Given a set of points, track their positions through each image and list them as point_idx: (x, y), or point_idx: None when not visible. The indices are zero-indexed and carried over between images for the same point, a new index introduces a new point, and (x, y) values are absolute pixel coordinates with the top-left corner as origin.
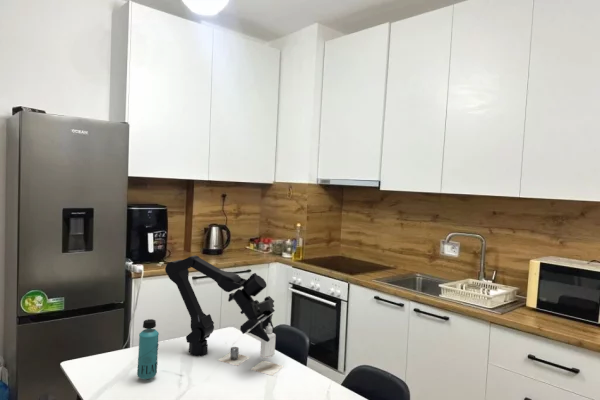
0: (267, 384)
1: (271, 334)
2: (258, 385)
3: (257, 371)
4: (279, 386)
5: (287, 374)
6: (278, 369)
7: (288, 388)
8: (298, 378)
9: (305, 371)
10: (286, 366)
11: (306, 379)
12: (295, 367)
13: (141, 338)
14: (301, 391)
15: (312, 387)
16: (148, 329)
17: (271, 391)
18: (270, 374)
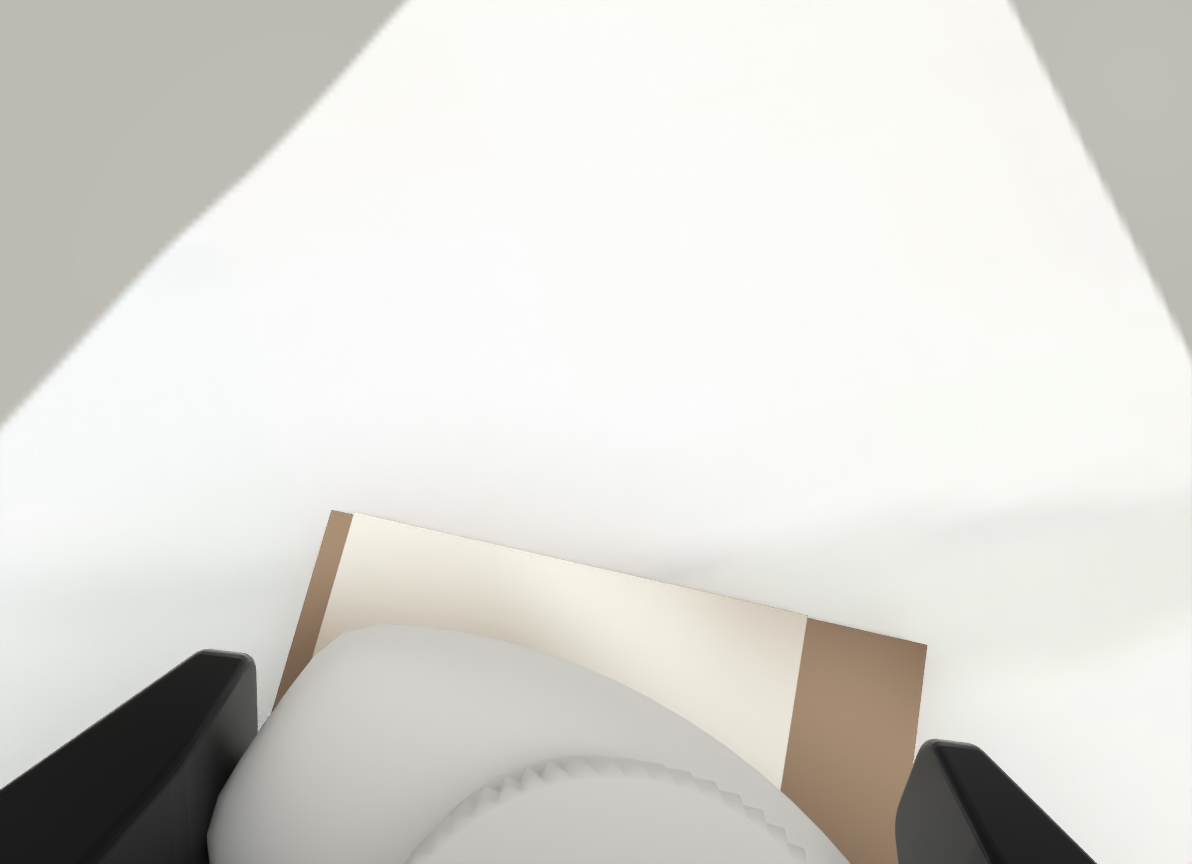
0: (1010, 637)
1: (663, 758)
2: (1105, 772)
3: None
4: (988, 439)
5: (552, 413)
6: (537, 570)
7: (988, 302)
8: (629, 225)
9: (352, 166)
10: (243, 499)
11: (619, 114)
12: (243, 342)
13: None
14: (990, 124)
15: (822, 11)
16: None
17: (1181, 514)
18: (785, 656)
